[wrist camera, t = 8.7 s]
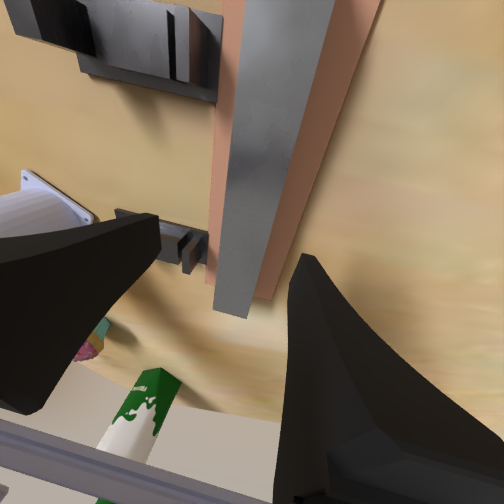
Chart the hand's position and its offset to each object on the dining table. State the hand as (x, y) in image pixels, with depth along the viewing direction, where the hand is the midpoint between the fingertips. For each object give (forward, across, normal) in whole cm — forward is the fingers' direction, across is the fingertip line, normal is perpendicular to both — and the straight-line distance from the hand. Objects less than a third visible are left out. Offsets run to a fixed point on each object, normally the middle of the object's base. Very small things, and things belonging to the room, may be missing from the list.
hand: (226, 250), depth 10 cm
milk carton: (+11, +14, +50) cm, 52 cm away
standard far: (+10, +9, +8) cm, 16 cm away
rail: (+10, 0, 0) cm, 10 cm away
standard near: (+10, +9, -8) cm, 16 cm away
